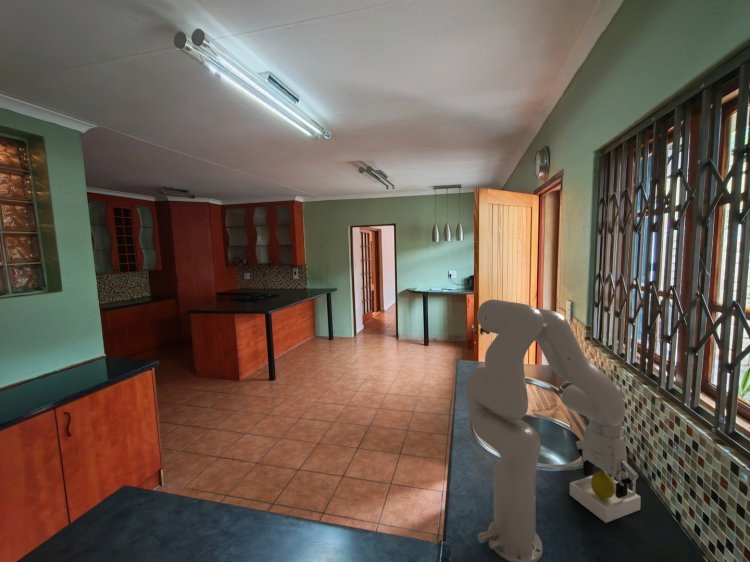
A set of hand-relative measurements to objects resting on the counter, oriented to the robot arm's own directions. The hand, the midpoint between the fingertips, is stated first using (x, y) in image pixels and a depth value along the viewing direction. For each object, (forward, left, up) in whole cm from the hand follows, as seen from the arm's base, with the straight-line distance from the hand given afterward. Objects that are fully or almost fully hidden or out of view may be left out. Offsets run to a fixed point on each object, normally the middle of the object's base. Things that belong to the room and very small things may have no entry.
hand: (603, 484), depth 95 cm
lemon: (0, 0, -5) cm, 5 cm away
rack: (0, 0, -5) cm, 5 cm away
